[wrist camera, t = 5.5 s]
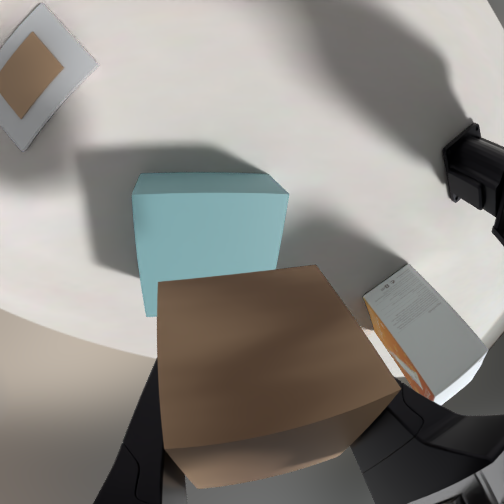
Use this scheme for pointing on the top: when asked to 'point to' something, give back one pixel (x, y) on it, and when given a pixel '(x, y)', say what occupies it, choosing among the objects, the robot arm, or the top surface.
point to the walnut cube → (262, 374)
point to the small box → (424, 335)
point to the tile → (38, 74)
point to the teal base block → (205, 226)
